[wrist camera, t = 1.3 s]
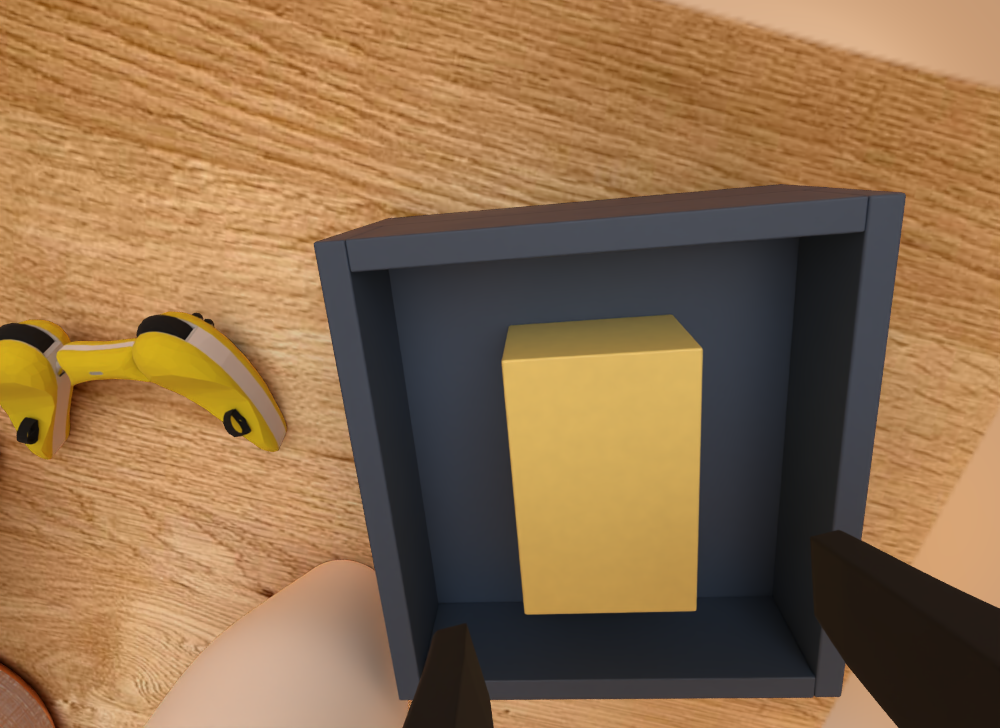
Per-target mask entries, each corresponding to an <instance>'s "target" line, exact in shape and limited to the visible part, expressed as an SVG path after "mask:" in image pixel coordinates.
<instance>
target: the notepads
mask: <svg viewBox="0 0 1000 728" xmlns="http://www.w3.org/2000/svg"><path fill="white" fill-rule="evenodd" d="M501 364H502V375H503V386H504V397H505V408H506V419H507V430H508V440H509V451H510V462H511V473H512V484H513V495H514V506H515V517H516V527H517V538H518V549H519V560H520V571H521V582H522V593H523V603H524V612H525V614H527V615H530V614H579V613H627V612H675V611H696V609H697V570H698V529H699V488H700V447H701V406H702V365H703V349H702V347H701V346H700V345H699V344H698V343H697V342H696V341H695V340H694V338H693V337H692V336H691V335H690V334H689V333H688V332H687V331H686V329H685V328H684V327H683V326H682V325H681V324H680V323H679V322H678V320H677V319H676V318H675V317H674V316H673V315H657V316H643V317H628V318H613V319H598V320H584V321H569V322H554V323H539V324H525V325H511V326H509V328H508V333H507V338H506V342H505V347H504V352H503V357H502V361H501Z"/></svg>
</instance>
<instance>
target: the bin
mask: <svg viewBox="0 0 1000 728" xmlns="http://www.w3.org/2000/svg"><path fill="white" fill-rule="evenodd" d="M905 198H906V195H905V193H901V192H886V191H872V190H857V189H842V188H828V187H813V186H798V185H783V184H779V185H768V186H756V187H745V188H733V189H722V190H710V191H699V192H687V193H676V194H664V195H653V196H641V197H630V198H618V199H607V200H595V201H584V202H572V203H561V204H549V205H538V206H526V207H515V208H503V209H492V210H480V211H469V212H457V213H446V214H434V215H423V216H411V217H400V218H388V219H385V220H382V221H379V222H376V223H373V224H369V225H366V226H363V227H360V228H357V229H354V230H351V231H348V232H345V233H342V234H339V235H335V236H332V237H329V238H326V239H323V240H320V241H317V242H315V243H314V248H315V254H316V259H317V264H318V270H319V275H320V280H321V286H322V291H323V296H324V302H325V307H326V312H327V318H328V323H329V328H330V334H331V339H332V344H333V350H334V355H335V360H336V366H337V371H338V376H339V382H340V387H341V392H342V398H343V403H344V408H345V414H346V419H347V424H348V429H349V435H350V440H351V445H352V451H353V456H354V461H355V467H356V472H357V477H358V483H359V488H360V493H361V499H362V504H363V509H364V515H365V520H366V525H367V531H368V536H369V541H370V547H371V552H372V557H373V563H374V568H375V573H376V579H377V584H378V589H379V595H380V600H381V605H382V611H383V616H384V621H385V626H386V632H387V637H388V642H389V648H390V653H391V658H392V664H393V669H394V674H395V680H396V685H397V690H398V696H399V700H413V698H414V696H415V693H416V690H417V687H418V684H419V681H420V678H421V675H422V672H423V669H424V666H425V663H426V660H427V656H428V653H429V649H430V646H431V642H432V638H433V635H434V634H435V633H436V631H437V630H440V629H444V628H448V627H452V626H456V625H460V624H464V623H466V624H467V627H468V630H469V633H470V636H471V639H472V642H473V646H474V649H475V652H476V655H477V658H478V661H479V665H480V668H481V671H482V674H483V677H484V680H485V683H486V687H487V690H488V693H489V696H490V700H536V699H681V698H812V697H814V696H815V697H840V696H841V692H842V684H843V676H844V669H845V661H844V660H843V658H842V657H841V655H840V654H839V652H838V651H837V649H836V648H835V646H834V645H833V643H832V642H831V640H830V639H829V637H828V636H827V634H826V633H825V631H824V629H823V628H822V626H821V625H820V623H819V622H818V620H817V618H816V617H815V615H814V602H813V583H812V565H811V546H810V537H811V536H815V535H819V534H823V533H827V532H831V531H835V530H841V531H843V532H845V533H847V534H849V535H851V536H853V537H855V538H857V539H859V540H861V538H862V530H863V522H864V514H865V507H866V499H867V491H868V484H869V476H870V468H871V460H872V453H873V445H874V437H875V430H876V422H877V414H878V406H879V399H880V391H881V383H882V376H883V368H884V360H885V352H886V345H887V337H888V329H889V321H890V314H891V306H892V298H893V291H894V283H895V275H896V267H897V260H898V252H899V244H900V237H901V229H902V221H903V213H904V206H905ZM657 315H673V316H674V317H675V318H676V319H677V320H678V322H679V323H680V324H681V325H682V326H683V327H684V328H685V329H686V331H687V332H688V333H689V334H690V335H691V336H692V337H693V338H694V340H695V341H696V342H697V343H698V344H699V345H700V346H701V347H702V349H703V365H702V406H701V447H700V488H699V529H698V570H697V609H696V611H675V612H627V613H579V614H530V615H527V614H525V612H524V603H523V593H522V582H521V571H520V560H519V549H518V538H517V527H516V517H515V506H514V495H513V484H512V473H511V462H510V451H509V440H508V430H507V419H506V408H505V397H504V386H503V375H502V364H501V361H502V357H503V352H504V347H505V342H506V338H507V333H508V328H509V326H511V325H525V324H539V323H554V322H569V321H584V320H598V319H613V318H628V317H643V316H657Z"/></svg>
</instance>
